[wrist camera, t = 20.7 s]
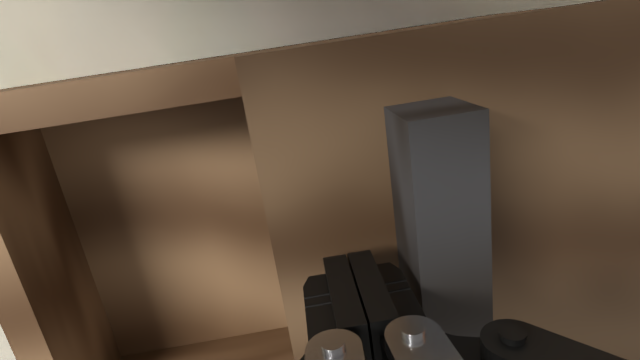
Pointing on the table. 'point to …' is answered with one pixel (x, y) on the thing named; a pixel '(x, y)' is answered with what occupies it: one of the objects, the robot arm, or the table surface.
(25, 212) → the wooden box
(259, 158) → the lid
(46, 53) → the table surface
